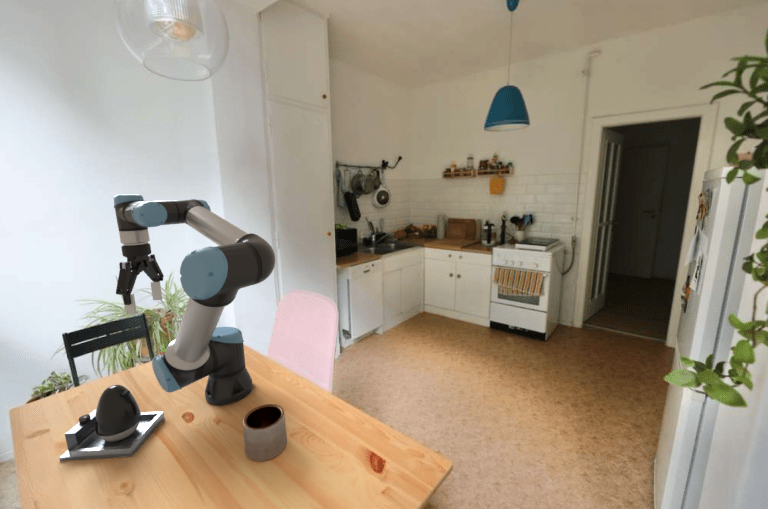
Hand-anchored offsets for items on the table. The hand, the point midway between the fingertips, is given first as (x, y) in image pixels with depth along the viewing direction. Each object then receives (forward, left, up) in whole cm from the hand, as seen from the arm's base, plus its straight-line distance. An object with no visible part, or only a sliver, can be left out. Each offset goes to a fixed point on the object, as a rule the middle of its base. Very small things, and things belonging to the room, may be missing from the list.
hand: (145, 306), depth 110 cm
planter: (-45, +29, -32) cm, 62 cm away
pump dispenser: (-2, +22, -31) cm, 38 cm away
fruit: (+7, -19, -32) cm, 38 cm away
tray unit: (-1, +22, -32) cm, 39 cm away
